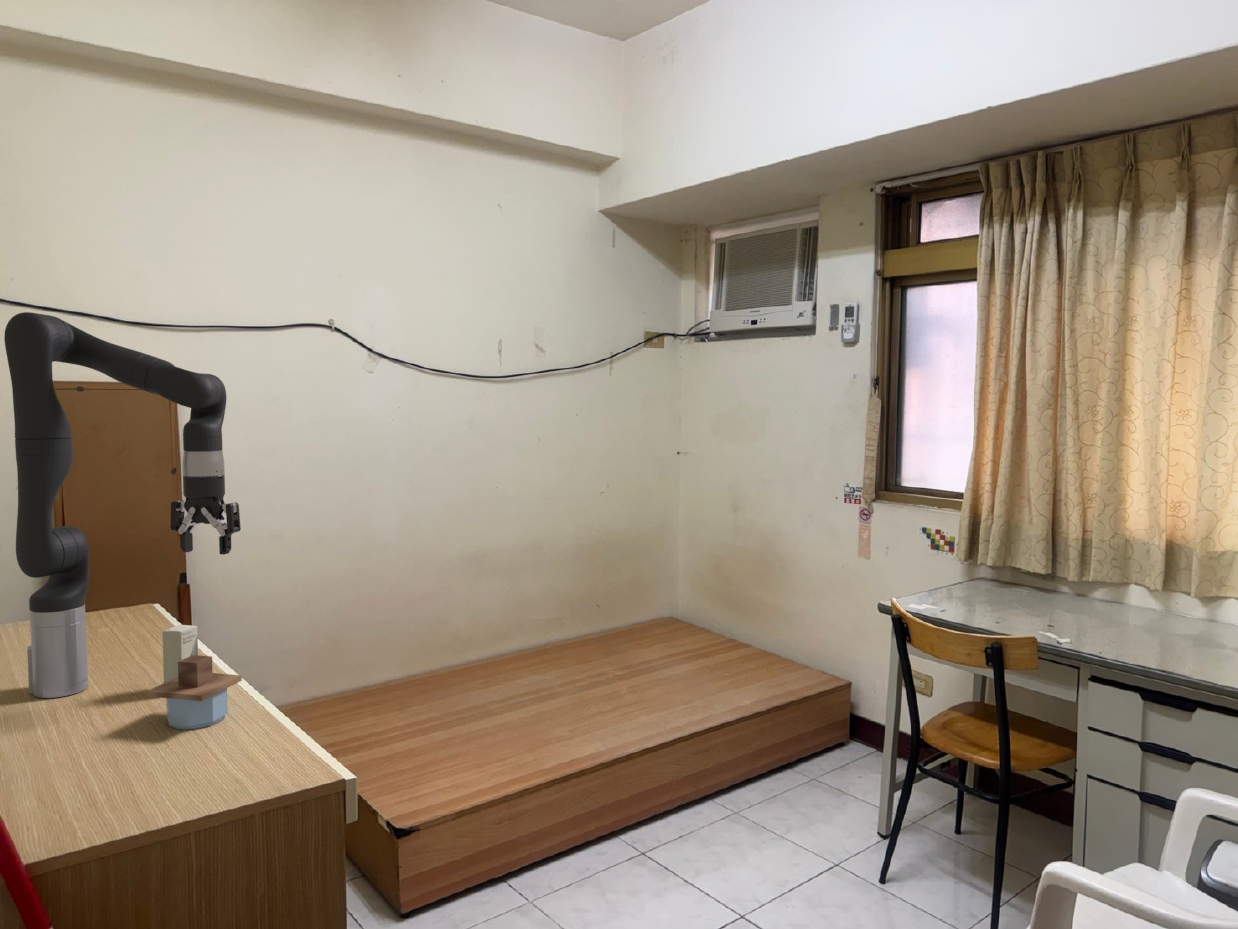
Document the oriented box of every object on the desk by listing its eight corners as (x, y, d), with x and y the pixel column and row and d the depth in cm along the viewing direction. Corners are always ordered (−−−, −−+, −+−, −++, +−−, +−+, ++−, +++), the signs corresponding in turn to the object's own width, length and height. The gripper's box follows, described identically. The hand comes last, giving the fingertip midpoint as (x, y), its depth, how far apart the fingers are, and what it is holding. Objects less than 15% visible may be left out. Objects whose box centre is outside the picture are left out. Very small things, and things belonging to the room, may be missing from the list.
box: (182, 695, 165) (180, 632, 164) (163, 693, 166) (160, 630, 165) (200, 686, 171) (198, 625, 170) (181, 684, 171) (179, 623, 170)
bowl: (155, 727, 149) (154, 695, 149) (193, 708, 159) (192, 677, 158) (202, 732, 147) (201, 699, 147) (237, 712, 157) (236, 681, 156)
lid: (147, 696, 148) (146, 666, 148) (190, 676, 159) (190, 648, 158) (201, 701, 146) (200, 670, 146) (241, 680, 157) (240, 652, 156)
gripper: (159, 473, 164) (161, 554, 165) (222, 475, 161) (225, 558, 162) (186, 470, 171) (188, 548, 172) (247, 472, 168) (249, 551, 169)
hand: (206, 552), depth 167 cm, fingers open, 8 cm apart
